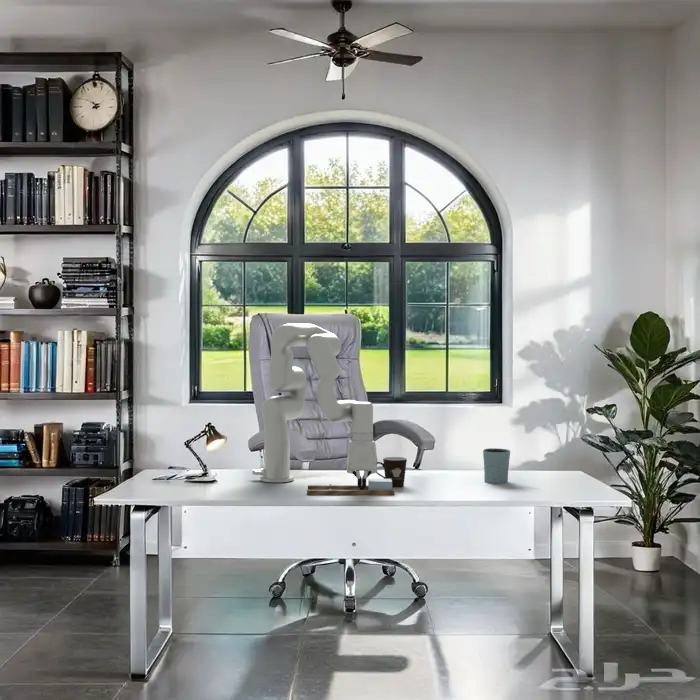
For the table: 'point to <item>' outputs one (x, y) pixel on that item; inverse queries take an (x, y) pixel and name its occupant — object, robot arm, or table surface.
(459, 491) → the table surface
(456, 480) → the table surface
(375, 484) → the block
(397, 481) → the coffee mug
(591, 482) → the table surface
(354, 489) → the wooden rail frame
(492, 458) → the green tapered cup
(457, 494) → the table surface
